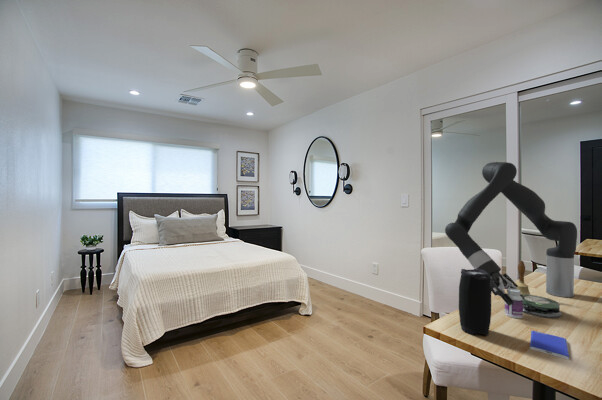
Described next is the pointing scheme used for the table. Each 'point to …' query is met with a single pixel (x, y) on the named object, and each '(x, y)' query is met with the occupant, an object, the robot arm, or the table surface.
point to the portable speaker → (475, 301)
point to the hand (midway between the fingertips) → (517, 302)
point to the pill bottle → (514, 304)
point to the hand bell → (522, 279)
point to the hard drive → (549, 344)
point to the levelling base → (541, 306)
